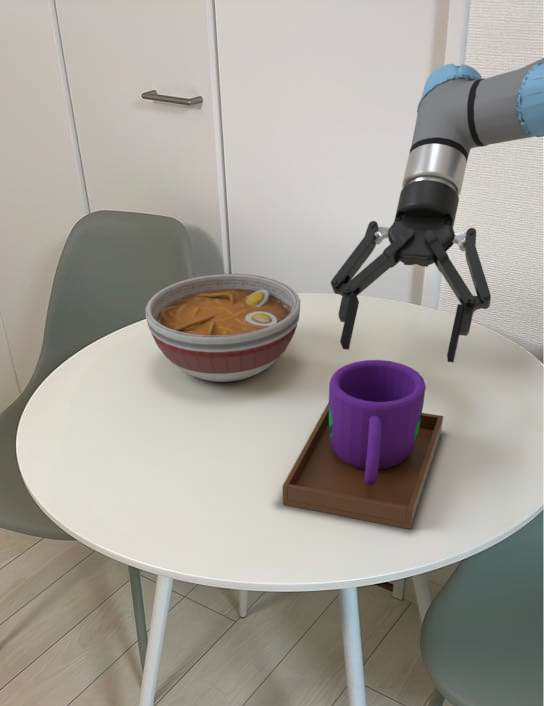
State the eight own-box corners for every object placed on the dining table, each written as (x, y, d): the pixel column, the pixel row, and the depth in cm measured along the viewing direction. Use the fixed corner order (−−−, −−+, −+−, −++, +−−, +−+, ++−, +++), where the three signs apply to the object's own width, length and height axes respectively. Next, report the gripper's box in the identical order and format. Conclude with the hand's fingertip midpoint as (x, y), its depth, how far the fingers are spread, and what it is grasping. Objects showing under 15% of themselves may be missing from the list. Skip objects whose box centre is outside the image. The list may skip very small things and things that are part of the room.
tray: (440, 434, 100) (443, 415, 98) (410, 529, 85) (412, 510, 83) (329, 416, 104) (330, 398, 102) (282, 504, 90) (282, 485, 88)
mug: (329, 424, 101) (332, 356, 95) (416, 428, 99) (425, 359, 93) (319, 504, 88) (322, 431, 82) (418, 510, 87) (429, 436, 80)
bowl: (318, 341, 121) (320, 281, 115) (271, 412, 106) (269, 346, 99) (189, 324, 128) (184, 266, 122) (127, 389, 113) (116, 326, 106)
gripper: (529, 214, 97) (495, 373, 96) (340, 202, 104) (308, 350, 104) (534, 182, 90) (498, 354, 89) (331, 172, 97) (296, 330, 96)
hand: (396, 352), depth 96 cm, fingers open, 13 cm apart
